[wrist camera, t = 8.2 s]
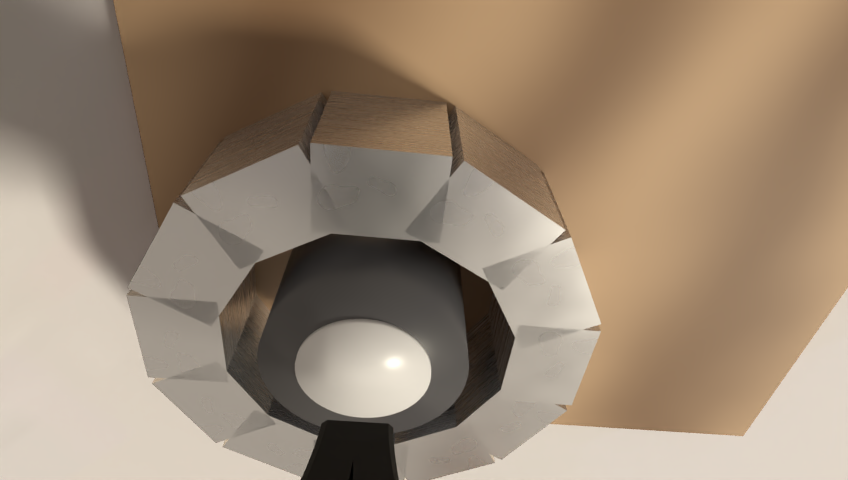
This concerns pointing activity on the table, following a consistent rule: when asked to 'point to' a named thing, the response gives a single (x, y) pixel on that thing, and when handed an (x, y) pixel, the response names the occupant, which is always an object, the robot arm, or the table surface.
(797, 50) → the board
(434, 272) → the cap
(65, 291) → the table surface
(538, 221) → the grey faceted ring
